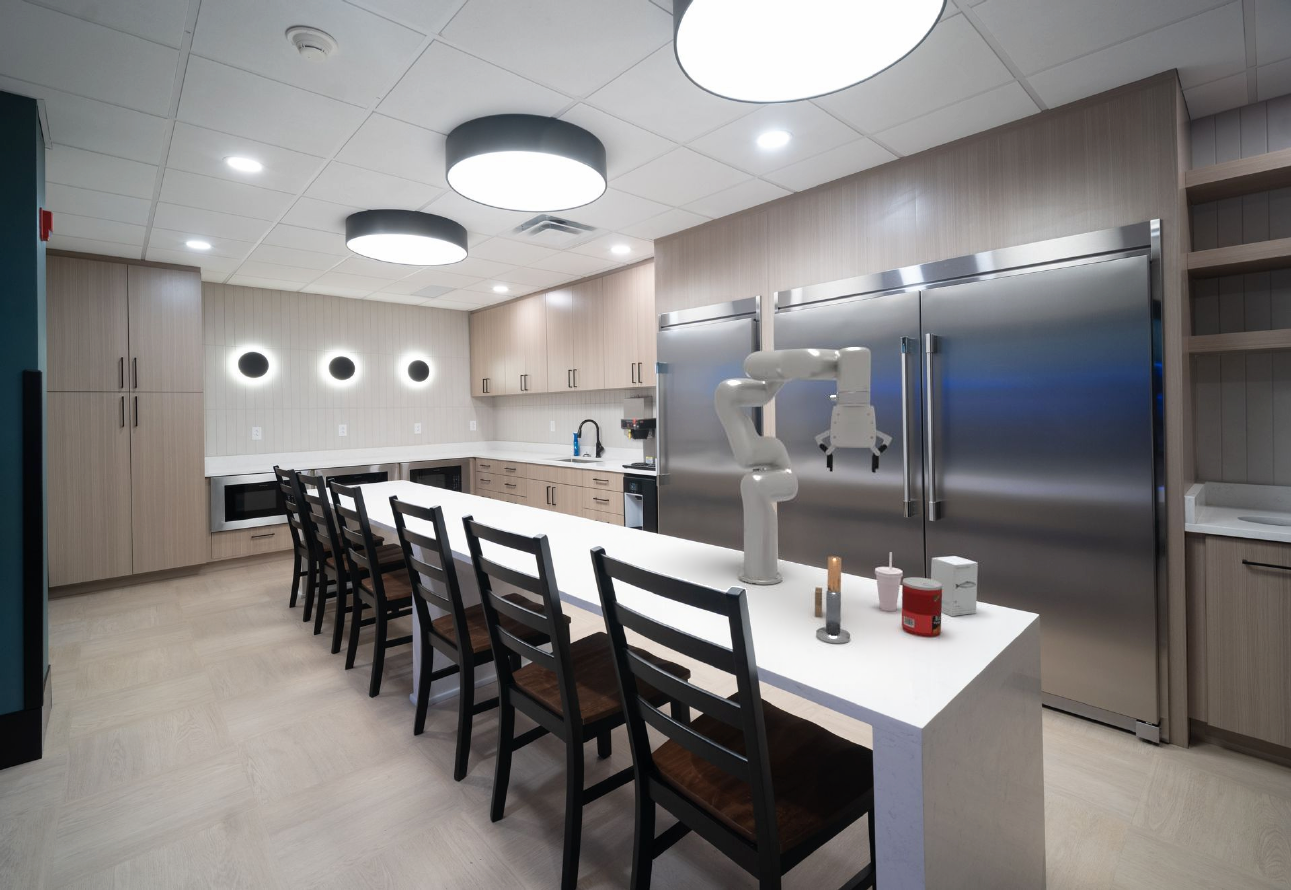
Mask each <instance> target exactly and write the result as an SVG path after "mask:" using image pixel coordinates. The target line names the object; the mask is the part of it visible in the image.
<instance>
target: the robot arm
mask: <svg viewBox="0 0 1291 890" xmlns="http://www.w3.org/2000/svg"><path fill="white" fill-rule="evenodd" d="M871 353H872V352H871V350H870V349H869V348H867V347H864V346H852V347H851V346H850V347H844V348H840V349H829V348H827V349H826V348H796V349H795V348H793V349H776V350H775V349H774V350H758V351H754V352H752V353H750V354H749V355H747V357H746V358H745V360H744V361H743V371H744V373H745V375H746V376H747V377H749V378H746V377H745V378H741V377H738V378H728V379H724V380H723V381H721V382H719V384H718V385H717V386H716V388H715V392H714V396H713V397H714V398H713V402H714V404H713V405H714V409H715V412H716V414H717V417H718V419H719V421H720V423H721V424H722V426H723V428H724V430H725V431H724V432H725V433H726V435H727V438H728V439H727V440H728V442H729V445H730V448H731V450H732V453H733V456H734V460H735V462H736V463H737V465H738V467H740V468H741V469H743V470H753V471H749V472H748V473H746V474H745V475H744V476H743V477H742V478H741V482H740V486H739V487H740V494H741V499H742V506H743V570H741V571H739V573H738V574H737V575H738V579H739V580H740V581H741V582H744V581H745V583H747V582H748V584H752V583H756V584H755V585H763V586H764V585H767V586H768V585H775V584H779V583H781V582H782V581H783V577H784V576H783V575H782V573H780V572H778V515H777V513H776V511H775V509H774V507H773V505H772V503H778V502H786V501H791V500H793V499H794V498H795V497H796V495H797V494H798V490H799V482H798V477H797V474H796V472H795V469H794V466H793V464H792V461H791V459H790V456H789V453H788V450H787V448H786V447H785V444H784V443H783V442H782V441H781V440H780V439H779V438H777V437H775V436H772V435H771V436H769V435H767V436H764V435H763V436H760V435H759V433H758V432H757V429H756V427H755V424H754V422H753V420H752V419H751V417H750V416H749V415H748V414H747V413H746V412H745V411H744V410H743V409H742V407H746V408H748V407H751V408H752V407H753V408H754V407H755V408H757V407H758V408H759V407H760V408H761V407H763V406H767V405H768V404H770V402H771V401H772V400H773V399H774V398H775V396H776V395H777V394H778V393H779V392H780V391H781V389H782V388H783V387H784V386H785V384H786V383H787V382H791V381H793V380H807V381H808V380H811V381H813V380H815V381H819V380H821V381H822V380H823V381H836V393H835V394H832V395H831V394H830V401H831V402H834V403H836V405H834V406H833V408H832V410H831V419H830V429H827V430H826V431H823V432H822V433H820V434H818V435H816V436H815V437H814V439H815V441H816V443H817V445H818V447H819V448H820V449H821V451H823V452H824V454H826V469H829V473H830V472H833V471H834V470H833V469H834V455H833V452H834V451H835V450H836V448H839V449H840V448H843V449H844V448H847V449H850V448H851V449H853V448H855V449H856V448H857V449H870V450H871V452H872V455H871V472H872V473H873V474H876V473H877V470H879V469H880V468H879V467H880V464H879V463H880V462H879V461H880V459H879V458H880V456H881V454H882V453H883V452H884V451H886V450H887V449H888V447H889V445H890V443H891V442H892V440H893V438H892V437H891V436H890V435H888V434H886V433H883V432H882V431H879V430H878V429H877V425H876V413H875V407H874V405H871V373H872V370H871V367H872V365H871V364H872V361H871V360H872V354H871ZM827 437H830V438H829V439H830V445H829V446H828V447H827V445H826V444H825V443H824V442H823V439H825V438H827ZM877 437H878V438H880V439H882V440H883V442H882V444H881V445H880V446H878V448H877V447H876V442H877ZM755 469H756V470H755ZM757 469H759V470H757Z"/></svg>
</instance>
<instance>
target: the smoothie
mask: <svg viewBox="0 0 1291 890" xmlns="http://www.w3.org/2000/svg"><path fill="white" fill-rule="evenodd" d="M888 559H889V560H888V561H889V562H888V563H889V565H888V566H879V567H876V568H874V574H875V576H876V585H877V586H876V587H877V594H878V601H879V602H878V603H879V609H880V610H882V611H885V612H895V611H897V606H898V599H899V594H900V587H901V580H902V579H901V578H902V577H904V576H903V575H904V574H903V570H901V569H900V568H898V567H897V568H896V567H893V565H892V564H893V552H889V557H888Z"/></svg>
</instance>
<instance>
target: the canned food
mask: <svg viewBox="0 0 1291 890" xmlns="http://www.w3.org/2000/svg"><path fill="white" fill-rule="evenodd" d="M901 587H902V589H901V590H902V591H901V593H902V595H901V627H902V629H903V630H904V631H905V632H906V633H909V634H911V635H914V636H918V637H929V638H931V637H937V636H939V635H940V633H941V630H942V612H941V610H942V584H941V583H940V582H938V581H935V580H932V579H931V578H925V577H913V576H912V577H911V576H910V577H906V578H903V579H902V585H901Z"/></svg>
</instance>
